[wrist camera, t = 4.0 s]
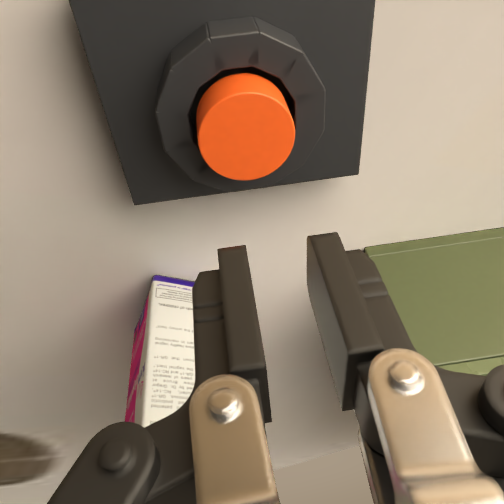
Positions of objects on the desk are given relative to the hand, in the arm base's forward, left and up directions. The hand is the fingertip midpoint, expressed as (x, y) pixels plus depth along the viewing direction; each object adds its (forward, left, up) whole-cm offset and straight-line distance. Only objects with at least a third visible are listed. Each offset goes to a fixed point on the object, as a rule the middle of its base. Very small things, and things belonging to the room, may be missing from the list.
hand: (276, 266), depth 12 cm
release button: (0, 0, -8) cm, 8 cm away
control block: (0, 0, -12) cm, 12 cm away
